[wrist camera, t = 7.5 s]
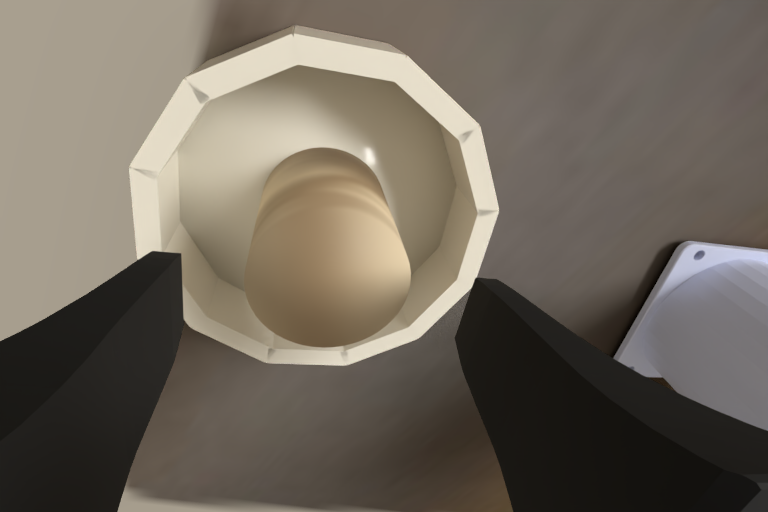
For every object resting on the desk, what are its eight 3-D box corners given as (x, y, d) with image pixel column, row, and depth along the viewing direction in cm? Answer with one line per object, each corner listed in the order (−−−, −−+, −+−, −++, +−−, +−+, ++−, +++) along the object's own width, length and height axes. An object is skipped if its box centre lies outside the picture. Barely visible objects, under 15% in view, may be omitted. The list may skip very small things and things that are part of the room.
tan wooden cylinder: (392, 153, 16) (424, 215, 11) (375, 262, 18) (397, 348, 13) (261, 141, 15) (243, 202, 10) (260, 256, 17) (244, 346, 13)
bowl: (503, 65, 15) (542, 81, 13) (427, 321, 21) (445, 368, 18) (151, -4, 13) (113, -2, 10) (168, 307, 18) (145, 359, 15)
